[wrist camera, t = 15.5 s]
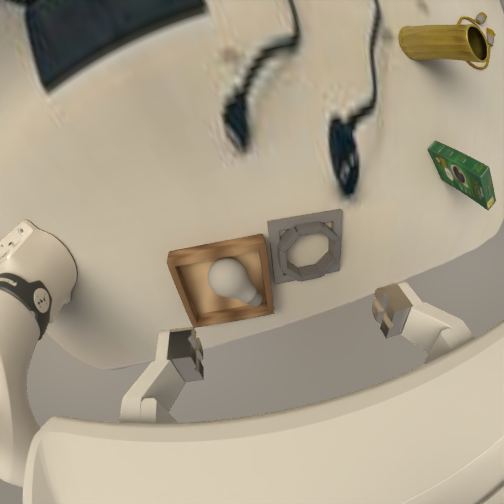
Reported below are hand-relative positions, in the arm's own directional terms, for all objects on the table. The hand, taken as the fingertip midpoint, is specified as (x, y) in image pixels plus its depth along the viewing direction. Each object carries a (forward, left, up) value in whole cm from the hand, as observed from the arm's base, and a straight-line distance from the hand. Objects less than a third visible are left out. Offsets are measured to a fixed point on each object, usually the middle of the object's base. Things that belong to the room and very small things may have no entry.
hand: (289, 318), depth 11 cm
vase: (+30, +17, -29) cm, 45 cm away
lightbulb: (0, -24, -26) cm, 35 cm away
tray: (-6, -20, -29) cm, 36 cm away
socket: (+9, -17, -29) cm, 35 cm away
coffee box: (+36, -4, -29) cm, 47 cm away
